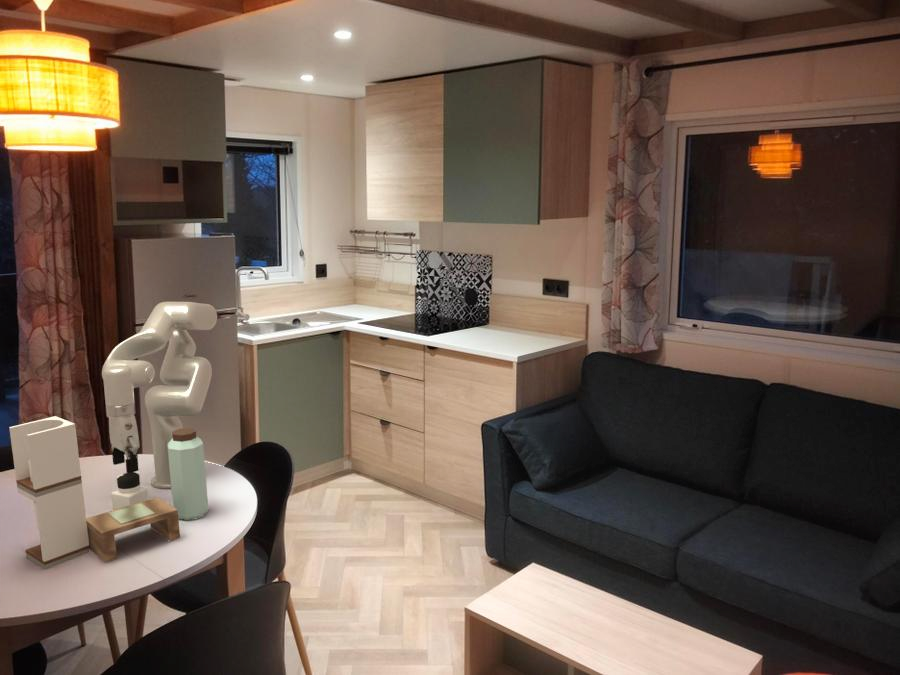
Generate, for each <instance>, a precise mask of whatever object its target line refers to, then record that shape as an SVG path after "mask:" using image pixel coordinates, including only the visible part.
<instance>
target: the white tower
mask: <svg viewBox="0 0 900 675" xmlns="http://www.w3.org/2000/svg"><path fill="white" fill-rule="evenodd" d="M8 428H9V434H10V442H11V443H10V444H11V451H12V459H13V465H14V467H13V468H14V472H15V473H14V474H15V480H16V488H17V493H18V494H20V495H22V496H24V497H25V498H27V499H30V500H31V501H33V508H34V517H35V524H36V529H37V530H38V532H39V533H38V535H39V542H40V544H38V545H34V546H32V547H29V548H26V549H25V556H26V558H27V557H28V558H27V559H29V560H31V561H32V562H33V561H34V562H33V563H35V564H36V565H38V566H40V568H42V569H44V570H48V569H50V568H53V567H55V566H58V565H61V564H63V563H67V562H69V561H71V560H74V559H76V558H79V557H82V556H84V555H86V554H89V553H91V550H90V549H89V540H88V531H87V523H86V518H87V517H86V516H87V515H86V507H85V506H86V505H85V497H84V491H83V490H84V489H83V480H82V471H81V464H80V454H79V446H78V437H77V428H76V423H74V422H71V421H69V420H66V419H64V418H61V417H59V416H56V415H54V416H50V417H46V418H42V419H38V420H35V421H30V422H26V423H21V424H17V425H13V426H8Z"/></svg>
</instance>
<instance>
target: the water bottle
mask: <svg viewBox="0 0 900 675" xmlns="http://www.w3.org/2000/svg"><path fill="white" fill-rule="evenodd" d="M167 445H168V456H169V467H170V478H171V488H170V489H171V497H172V506H173V507H174V508H176V509H177V510H178V519H179V520H182V519H184V521H191V520H190V519H192V520H196V519H195V518H198V519H200V518H201V516H202V515H203V516H205V515H206V514H207V513H208V511H209V499H208V488H207V476H206V461H205V452H204V451H205V450H204V443H203V440H202V439H201V438H200V437H198V436H197V430H196V429H195V428H193V427H183V428H182V429H177V430H175V431H173V432H172V439H171V441H170V442H169V443H168V444H167ZM205 513H206V514H205ZM204 514H205V515H204ZM203 516H202V517H203ZM199 517H200V518H199Z"/></svg>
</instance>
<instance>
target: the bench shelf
mask: <svg viewBox="0 0 900 675" xmlns="http://www.w3.org/2000/svg"><path fill="white" fill-rule="evenodd" d="M179 521H180V519H178V510H177V509H176V508H174V507H173V505H171V504H170V503H169V502H166V500H163V499H162V498H161V497H159V496H158V497H153V498H151V499H149V500H147V501H143V502H140V503H137V504H133V505H130V506H126V507H123V508H120V509H116V510H113V509H112V510H110V511H107V512H103V513H100V514H96V515H93V516H90V517H86V523H87V531H88V540H89V549H90V552H93V553H94V555H95V556H97V557H98V558H99V559H100V560H101V561H102V562H104V563H107V562H110V561H113V560H117V558H118V557H117V548H116V547H117V546H116V540H115V539H116V538H115V535H119V534H123V533H125V532H127V531H131V530H135V529H138V528H140V527H144V526H147V525H150V528H151V529H152V530H154V531H155V532H156V533H158V534H160V535H161V536H162V538H165V539H166V540H167V541H169V542H171V541H173V540H177V539H179V538H181V533H180V532H181V531H180V522H179Z"/></svg>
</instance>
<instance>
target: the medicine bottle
mask: <svg viewBox="0 0 900 675" xmlns="http://www.w3.org/2000/svg"><path fill="white" fill-rule="evenodd" d="M116 484H117V490H115V491H113V492H111V493H110V495H111V496H110V497H111V503H112V511H113V510H116V509H120V508H123V507H126V506H130V505H133V504H137V503H140V502H143V501H147V500H150V499H149V490H148V488H147V487H145V486H141V480H140V474H139V473H138V472H136V471H135V472H131V473H127V471H126V472H123V473H121V474H119V475H118V476H117V477H116Z"/></svg>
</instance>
